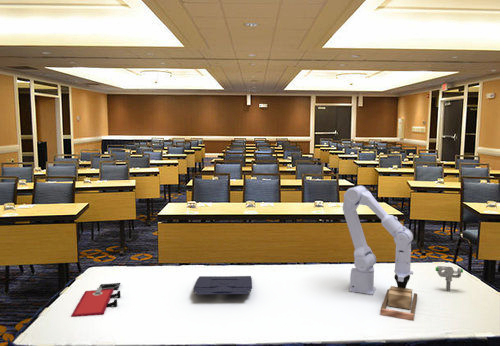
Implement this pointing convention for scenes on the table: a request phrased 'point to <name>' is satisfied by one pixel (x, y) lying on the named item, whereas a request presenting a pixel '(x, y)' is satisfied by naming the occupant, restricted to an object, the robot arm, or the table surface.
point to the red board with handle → (97, 300)
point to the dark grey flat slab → (223, 285)
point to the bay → (398, 313)
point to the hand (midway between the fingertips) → (401, 293)
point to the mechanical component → (448, 274)
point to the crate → (400, 297)
